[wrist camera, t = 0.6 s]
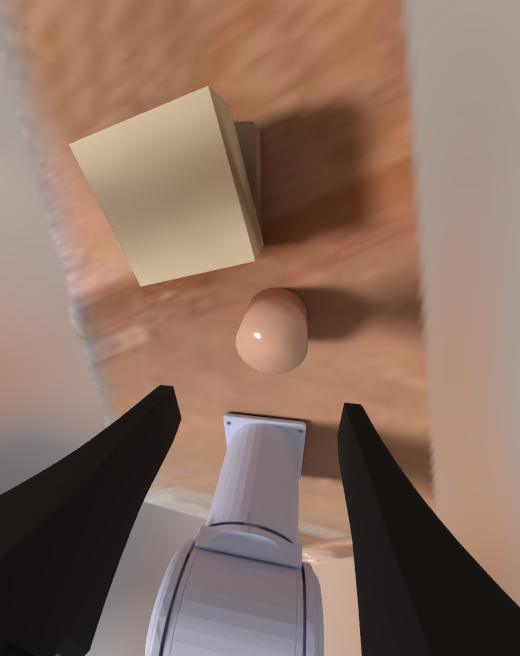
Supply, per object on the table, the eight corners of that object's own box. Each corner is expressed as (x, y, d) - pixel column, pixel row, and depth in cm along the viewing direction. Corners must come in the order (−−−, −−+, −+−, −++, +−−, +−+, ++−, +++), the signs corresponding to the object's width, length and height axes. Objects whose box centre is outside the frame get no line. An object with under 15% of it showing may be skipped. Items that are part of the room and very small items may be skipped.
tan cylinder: (304, 341, 20) (304, 376, 17) (248, 338, 20) (238, 370, 17) (309, 288, 18) (310, 316, 14) (246, 286, 18) (233, 312, 15)
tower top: (263, 245, 14) (255, 261, 11) (167, 267, 15) (140, 286, 13) (230, 106, 11) (208, 85, 9) (116, 150, 13) (68, 144, 10)
